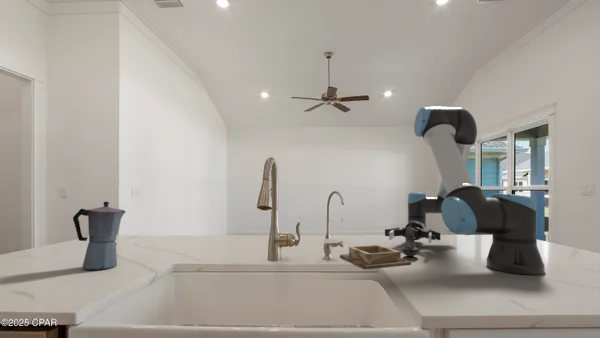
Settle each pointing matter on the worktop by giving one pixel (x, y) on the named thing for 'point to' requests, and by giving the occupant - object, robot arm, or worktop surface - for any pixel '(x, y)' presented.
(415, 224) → the robot arm
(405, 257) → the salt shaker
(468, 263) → the worktop surface
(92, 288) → the worktop surface
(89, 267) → the moka pot
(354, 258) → the holder
